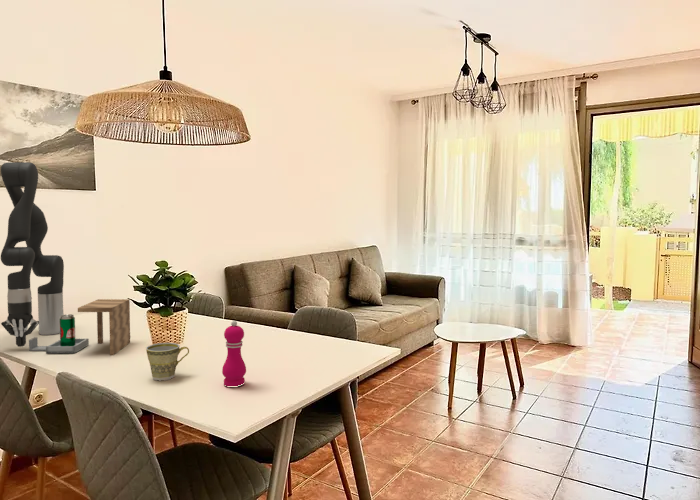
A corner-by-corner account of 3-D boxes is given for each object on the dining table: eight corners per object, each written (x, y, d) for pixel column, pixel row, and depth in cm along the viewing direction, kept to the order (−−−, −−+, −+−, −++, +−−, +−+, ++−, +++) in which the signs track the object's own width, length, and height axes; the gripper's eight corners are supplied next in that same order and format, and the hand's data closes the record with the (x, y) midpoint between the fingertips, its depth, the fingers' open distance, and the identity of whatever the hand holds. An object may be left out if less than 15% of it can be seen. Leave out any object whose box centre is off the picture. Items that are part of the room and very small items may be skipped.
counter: (99, 342, 202) (98, 299, 200) (130, 342, 203) (129, 299, 201) (78, 355, 184) (77, 308, 183) (112, 355, 185) (112, 308, 184)
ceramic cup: (147, 384, 155) (146, 352, 154) (146, 374, 164) (145, 344, 163) (191, 379, 160) (190, 348, 160) (187, 370, 169) (187, 340, 169)
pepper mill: (224, 380, 159) (224, 318, 158) (247, 380, 160) (247, 318, 158) (220, 388, 152) (220, 323, 151) (244, 388, 153) (244, 323, 151)
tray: (40, 344, 196) (40, 334, 196) (88, 344, 198) (88, 334, 197) (23, 353, 184) (22, 342, 184) (74, 353, 186) (74, 342, 185)
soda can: (68, 348, 188) (67, 317, 187) (57, 347, 189) (56, 316, 188) (78, 345, 193) (77, 314, 192) (67, 344, 194) (66, 313, 193)
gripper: (-6, 302, 184) (-4, 348, 186) (32, 302, 185) (34, 348, 187) (7, 298, 192) (8, 343, 193) (43, 298, 193) (44, 343, 194)
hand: (21, 346), depth 190 cm, fingers closed
